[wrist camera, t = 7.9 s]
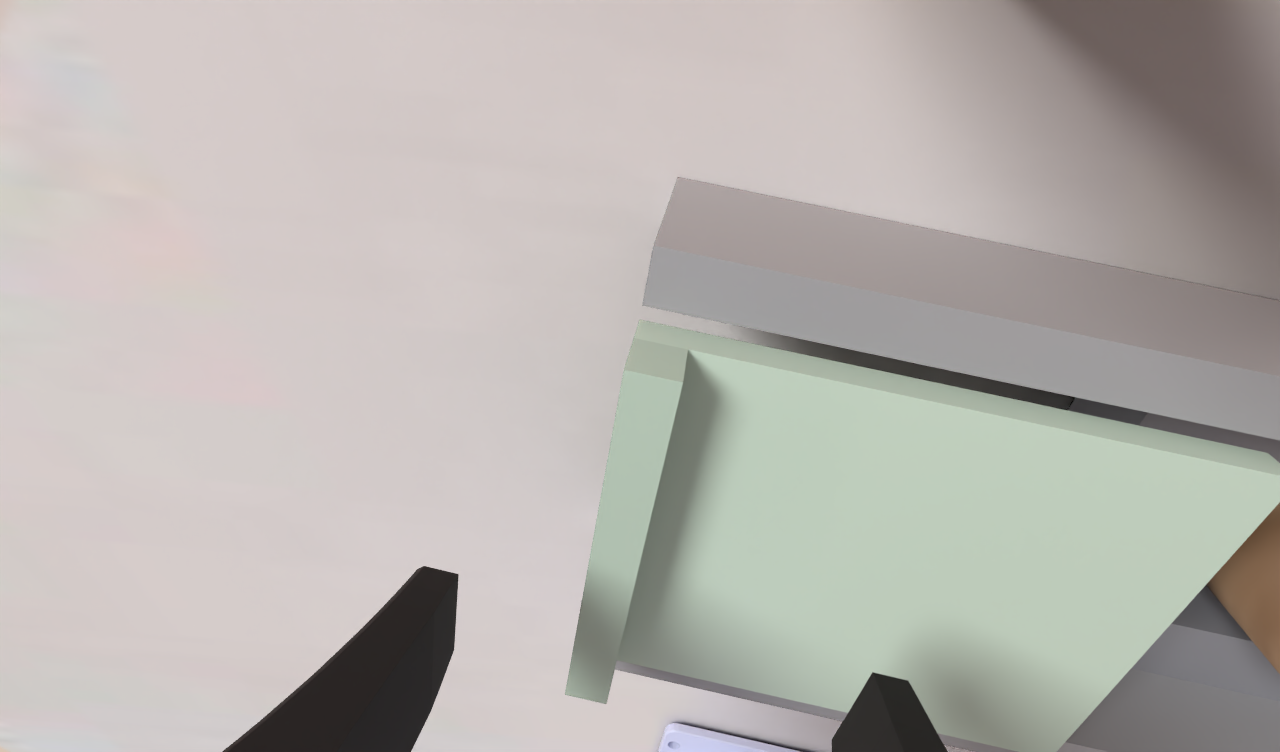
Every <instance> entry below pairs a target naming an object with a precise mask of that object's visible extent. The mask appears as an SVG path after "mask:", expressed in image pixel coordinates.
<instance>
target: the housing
mask: <svg viewBox="0 0 1280 752" xmlns="http://www.w3.org/2000/svg"><path fill="white" fill-rule="evenodd" d="M642 306H647V307H652V308H656V309H661V310H666V311H671V312H675V313H680V314H685V315H689V316H694V317H699V318H704V319H708V320H713V321H718V322H722V323H727V324H732V325H737V326H741V327H746V328H751V329H756V330H760V331H765V332H770V333H774V334H779V335H784V336H789V337H793V338H798V339H803V340H808V341H812V342H817V343H822V344H826V345H831V346H836V347H841V348H845V349H850V350H855V351H859V352H864V353H869V354H874V355H878V356H883V357H888V358H893V359H897V360H902V361H907V362H911V363H916V364H921V365H926V366H930V367H935V368H940V369H945V370H949V371H954V372H959V373H963V374H968V375H973V376H978V377H982V378H987V379H992V380H996V381H1001V382H1006V383H1011V384H1015V385H1020V386H1025V387H1030V388H1034V389H1039V390H1044V391H1048V392H1053V393H1058V394H1063V395H1067V396H1072V397H1075V399H1074V400H1073V402H1072V404H1071V405H1070V407H1069V409H1068V411H1072V412H1077V413H1082V414H1087V415H1091V416H1096V417H1101V418H1105V419H1110V420H1115V421H1120V422H1124V423H1129V424H1134V425H1138V426H1143V427H1148V428H1153V429H1157V430H1162V431H1167V432H1171V433H1176V434H1181V435H1185V436H1190V437H1195V438H1200V439H1204V440H1209V441H1214V442H1218V443H1223V444H1228V445H1233V446H1237V447H1242V448H1247V449H1251V450H1256V451H1261V452H1266V453H1268V454H1270V455H1271V456H1272V457H1273V458H1274V459H1276V460H1277V461H1278V462H1279V463H1280V301H1278V300H1274V299H1269V298H1264V297H1259V296H1254V295H1249V294H1244V293H1239V292H1235V291H1230V290H1225V289H1220V288H1215V287H1210V286H1205V285H1201V284H1196V283H1191V282H1186V281H1181V280H1176V279H1171V278H1167V277H1162V276H1157V275H1152V274H1147V273H1142V272H1137V271H1132V270H1128V269H1123V268H1118V267H1113V266H1108V265H1103V264H1098V263H1094V262H1089V261H1084V260H1079V259H1074V258H1069V257H1064V256H1060V255H1055V254H1050V253H1045V252H1040V251H1035V250H1030V249H1025V248H1021V247H1016V246H1011V245H1006V244H1001V243H996V242H991V241H987V240H982V239H977V238H972V237H967V236H962V235H957V234H953V233H948V232H943V231H938V230H933V229H928V228H923V227H918V226H914V225H909V224H904V223H899V222H894V221H889V220H884V219H880V218H875V217H870V216H865V215H860V214H855V213H850V212H846V211H841V210H836V209H831V208H826V207H821V206H816V205H811V204H807V203H802V202H797V201H792V200H787V199H782V198H777V197H773V196H768V195H763V194H758V193H753V192H748V191H743V190H739V189H734V188H729V187H724V186H719V185H714V184H709V183H704V182H700V181H695V180H690V179H685V178H680V177H678V178H677V181H676V184H675V187H674V189H673V192H672V195H671V198H670V201H669V203H668V206H667V209H666V212H665V215H664V218H663V220H662V223H661V226H660V229H659V232H658V234H657V237H656V240H655V243H654V246H653V251H652V257H651V262H650V267H649V273H648V278H647V283H646V289H645V294H644V299H643V305H642ZM615 670H620V671H624V672H628V673H633V674H637V675H642V676H646V677H650V678H655V679H659V680H664V681H668V682H672V683H677V684H681V685H685V686H690V687H694V688H699V689H703V690H707V691H712V692H716V693H721V694H725V695H729V696H734V697H738V698H742V699H747V700H751V701H756V702H760V703H764V704H769V705H773V706H777V707H782V708H786V709H791V710H795V711H799V712H804V713H808V714H813V715H817V716H821V717H826V718H830V719H834V720H839V721H844V719H845V717H846V716H847V714H848V713H846V712H842V711H837V710H833V709H828V708H824V707H820V706H815V705H811V704H806V703H802V702H798V701H793V700H789V699H785V698H780V697H776V696H771V695H767V694H763V693H758V692H754V691H749V690H745V689H741V688H736V687H732V686H727V685H723V684H719V683H714V682H710V681H705V680H701V679H697V678H692V677H688V676H684V675H679V674H675V673H670V672H666V671H662V670H657V669H653V668H648V667H644V666H640V665H635V664H631V663H626V662H622V661H618V660H617V661H616V666H615ZM938 735H939V737H940V739H941V741H942V743H943V744H944V745H948V746H953V747H957V748H962V749H966V750H970V751H975V752H1017V751H1013V750H1008V749H1004V748H1000V747H995V746H991V745H987V744H982V743H978V742H973V741H969V740H965V739H960V738H956V737H951V736H947V735H943V734H938ZM1057 752H1280V674H1279V673H1278V672H1277V671H1276V669H1275V668H1274V667H1273V666H1272V664H1271V663H1270V662H1269V661H1268V660H1267V658H1266V657H1265V656H1264V655H1263V653H1262V652H1261V651H1260V650H1259V649H1258V647H1257V646H1256V645H1255V644H1254V643H1253V641H1252V640H1251V639H1250V638H1249V636H1248V635H1247V634H1246V633H1245V632H1244V630H1243V629H1242V628H1241V627H1240V626H1239V624H1238V623H1237V622H1236V621H1235V619H1234V618H1233V617H1232V616H1231V615H1230V613H1229V612H1228V611H1227V610H1226V609H1225V607H1224V606H1223V605H1222V604H1221V602H1220V601H1219V600H1218V599H1217V598H1216V596H1215V595H1214V594H1213V593H1212V592H1211V590H1210V589H1209V588H1208V587H1207V585H1205V586H1204V588H1203V589H1202V590H1201V591H1200V592H1199V593H1198V594H1197V595H1196V597H1195V598H1194V599H1193V600H1192V601H1191V602H1190V603H1189V604H1188V605H1187V607H1186V608H1185V609H1184V610H1183V611H1182V612H1181V613H1180V614H1179V616H1178V617H1177V618H1176V619H1175V620H1174V621H1173V622H1172V623H1171V624H1170V626H1169V627H1168V628H1167V629H1166V630H1165V631H1164V632H1163V633H1162V635H1161V636H1160V637H1159V638H1158V639H1157V640H1156V641H1155V642H1154V643H1153V645H1152V646H1151V647H1150V648H1149V649H1148V650H1147V651H1146V652H1145V654H1144V655H1143V656H1142V657H1141V658H1140V659H1139V660H1138V661H1137V662H1136V664H1135V665H1134V666H1133V667H1132V668H1131V669H1130V670H1129V671H1128V672H1127V674H1126V675H1125V676H1124V677H1123V678H1122V679H1121V680H1120V681H1119V683H1118V684H1117V685H1116V686H1115V687H1114V688H1113V689H1112V690H1111V691H1110V693H1109V694H1108V695H1107V696H1106V697H1105V698H1104V699H1103V700H1102V702H1101V703H1100V704H1099V705H1098V706H1097V707H1096V708H1095V709H1094V710H1093V712H1092V713H1091V714H1090V715H1089V716H1088V717H1087V718H1086V719H1085V721H1084V722H1083V723H1082V724H1081V725H1080V726H1079V727H1078V728H1077V729H1076V731H1075V732H1074V733H1073V734H1072V735H1071V736H1070V737H1069V738H1068V740H1067V741H1066V742H1065V743H1064V744H1063V745H1062V746H1061V747H1060V748H1059V750H1058V751H1057Z"/></svg>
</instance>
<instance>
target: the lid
mask: <svg viewBox="0 0 1280 752" xmlns="http://www.w3.org/2000/svg"><path fill="white" fill-rule="evenodd" d="M1279 503H1280V463H1279V462H1278V461H1277V460H1276V459H1274V458H1273V457H1272V456H1271V455H1270V454H1268V453H1266V452H1261V451H1256V450H1251V449H1247V448H1242V447H1237V446H1233V445H1228V444H1223V443H1218V442H1214V441H1209V440H1204V439H1200V438H1195V437H1190V436H1185V435H1181V434H1176V433H1171V432H1167V431H1162V430H1157V429H1153V428H1148V427H1143V426H1138V425H1134V424H1129V423H1124V422H1120V421H1115V420H1110V419H1105V418H1101V417H1096V416H1091V415H1087V414H1082V413H1077V412H1072V411H1068V410H1063V409H1058V408H1054V407H1049V406H1044V405H1039V404H1035V403H1030V402H1025V401H1021V400H1016V399H1011V398H1006V397H1002V396H997V395H992V394H988V393H983V392H978V391H974V390H969V389H964V388H959V387H955V386H950V385H945V384H941V383H936V382H931V381H926V380H922V379H917V378H912V377H908V376H903V375H898V374H893V373H889V372H884V371H879V370H875V369H870V368H865V367H860V366H856V365H851V364H846V363H842V362H837V361H832V360H828V359H823V358H818V357H813V356H809V355H804V354H799V353H795V352H790V351H785V350H780V349H776V348H771V347H766V346H762V345H757V344H752V343H747V342H743V341H738V340H733V339H729V338H724V337H719V336H714V335H710V334H705V333H700V332H696V331H691V330H686V329H682V328H677V327H672V326H667V325H663V324H658V323H653V322H649V321H644V320H639V323H638V327H637V330H636V333H635V336H634V339H633V342H632V346H631V349H630V352H629V355H628V358H627V362H626V365H625V368H624V372H623V378H622V383H621V389H620V394H619V400H618V405H617V411H616V416H615V422H614V427H613V433H612V438H611V444H610V449H609V455H608V460H607V466H606V471H605V477H604V482H603V488H602V493H601V499H600V504H599V510H598V515H597V521H596V526H595V532H594V537H593V543H592V548H591V554H590V559H589V565H588V570H587V576H586V581H585V587H584V592H583V598H582V603H581V609H580V614H579V620H578V625H577V631H576V636H575V642H574V647H573V653H572V658H571V664H570V669H569V675H568V680H567V686H566V691H565V695H569V696H573V697H578V698H582V699H586V700H591V701H595V702H599V703H604V704H606V703H607V699H608V695H609V691H610V686H611V682H612V678H613V674H614V670H615V666H616V661H617V660H618V661H622V662H626V663H631V664H635V665H640V666H644V667H648V668H653V669H657V670H662V671H666V672H670V673H675V674H679V675H684V676H688V677H692V678H697V679H701V680H705V681H710V682H714V683H719V684H723V685H727V686H732V687H736V688H741V689H745V690H749V691H754V692H758V693H763V694H767V695H771V696H776V697H780V698H785V699H789V700H793V701H798V702H802V703H806V704H811V705H815V706H820V707H824V708H828V709H833V710H837V711H842V712H846V713H848V712H849V711H850V709H851V707H852V706H853V704H854V702H855V701H856V699H857V697H858V696H859V694H860V692H861V691H862V689H863V687H864V686H865V684H866V682H867V681H868V679H869V677H870V676H871V674H872V672H874V673H878V674H882V675H886V676H891V677H895V678H899V679H903V680H908V681H909V683H910V684H911V686H912V688H913V690H914V692H915V693H916V695H917V697H918V699H919V701H920V702H921V704H922V706H923V708H924V710H925V712H926V713H927V715H928V717H929V719H930V721H931V723H932V724H933V726H934V728H935V730H936V732H937V733H938V734H943V735H947V736H951V737H956V738H960V739H965V740H969V741H973V742H978V743H982V744H987V745H991V746H995V747H1000V748H1004V749H1008V750H1013V751H1017V752H1057V751H1058V750H1059V748H1060V747H1061V746H1062V745H1063V744H1064V743H1065V742H1066V741H1067V740H1068V738H1069V737H1070V736H1071V735H1072V734H1073V733H1074V732H1075V731H1076V729H1077V728H1078V727H1079V726H1080V725H1081V724H1082V723H1083V722H1084V721H1085V719H1086V718H1087V717H1088V716H1089V715H1090V714H1091V713H1092V712H1093V710H1094V709H1095V708H1096V707H1097V706H1098V705H1099V704H1100V703H1101V702H1102V700H1103V699H1104V698H1105V697H1106V696H1107V695H1108V694H1109V693H1110V691H1111V690H1112V689H1113V688H1114V687H1115V686H1116V685H1117V684H1118V683H1119V681H1120V680H1121V679H1122V678H1123V677H1124V676H1125V675H1126V674H1127V672H1128V671H1129V670H1130V669H1131V668H1132V667H1133V666H1134V665H1135V664H1136V662H1137V661H1138V660H1139V659H1140V658H1141V657H1142V656H1143V655H1144V654H1145V652H1146V651H1147V650H1148V649H1149V648H1150V647H1151V646H1152V645H1153V643H1154V642H1155V641H1156V640H1157V639H1158V638H1159V637H1160V636H1161V635H1162V633H1163V632H1164V631H1165V630H1166V629H1167V628H1168V627H1169V626H1170V624H1171V623H1172V622H1173V621H1174V620H1175V619H1176V618H1177V617H1178V616H1179V614H1180V613H1181V612H1182V611H1183V610H1184V609H1185V608H1186V607H1187V605H1188V604H1189V603H1190V602H1191V601H1192V600H1193V599H1194V598H1195V597H1196V595H1197V594H1198V593H1199V592H1200V591H1201V590H1202V589H1203V588H1204V586H1205V585H1206V584H1207V583H1208V582H1209V581H1210V580H1211V579H1212V578H1213V576H1214V575H1215V574H1216V573H1217V572H1218V571H1219V570H1220V569H1221V567H1222V566H1223V565H1224V564H1225V563H1226V562H1227V561H1228V560H1229V559H1230V557H1231V556H1232V555H1233V554H1234V553H1235V552H1236V551H1237V550H1238V548H1239V547H1240V546H1241V545H1242V544H1243V543H1244V542H1245V541H1246V540H1247V538H1248V537H1249V536H1250V535H1251V534H1252V533H1253V532H1254V531H1255V529H1256V528H1257V527H1258V526H1259V525H1260V524H1261V523H1262V522H1263V521H1264V519H1265V518H1266V517H1267V516H1268V515H1269V514H1270V513H1271V512H1272V510H1273V509H1274V508H1275V507H1276V506H1277V505H1278V504H1279Z"/></svg>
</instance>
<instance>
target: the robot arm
mask: <svg viewBox="0 0 1280 752" xmlns="http://www.w3.org/2000/svg"><path fill="white" fill-rule="evenodd" d="M457 589H458V574H455V573H451V572H447V571H442V570H438V569H434V568H430V567H426V566H423V567H421V568H419V569H417V570H416V572H415V573H414V574H413V575H412V576H411V577H410V578H409V579H408V581H407V582H406V583H405V584H404V585H403V586H402V587H401V588H400V589H399V590H398V591H397V593H396V594H395V595H394V596H393V597H392V598H391V599H390V600H389V601H388V602H387V603H386V604H385V605H384V606H383V607H382V608H381V609H380V611H379V612H378V613H377V614H376V615H375V616H374V617H373V618H372V619H371V620H370V621H369V622H368V623H367V624H366V625H365V626H364V627H363V628H362V629H361V630H360V631H359V632H358V633H357V634H356V635H355V636H354V637H353V638H351V639H350V640H349V641H348V642H347V643H346V644H345V645H344V646H343V647H342V648H341V649H340V650H339V651H338V652H337V653H336V654H335V655H334V656H333V657H331V658H330V659H329V660H328V661H327V662H326V663H325V664H324V665H323V666H322V667H321V668H320V669H319V670H318V671H317V672H316V673H314V674H313V675H312V676H311V677H310V678H309V679H308V680H307V681H306V682H304V683H303V684H302V685H301V686H300V687H299V688H298V689H296V690H295V691H294V692H293V693H292V694H291V695H289V696H288V697H287V698H286V699H285V700H284V701H283V702H281V703H280V704H279V705H278V706H277V707H276V708H275V709H273V710H272V711H271V712H270V713H269V714H268V715H267V716H265V717H264V718H263V719H262V720H261V721H259V722H258V723H257V724H256V725H255V726H253V727H252V728H251V729H250V730H249V731H247V732H246V733H245V734H244V735H242V736H241V737H240V738H239V739H238V740H236V741H235V742H234V743H233V744H231V745H230V746H229V747H228V748H226V749H225V750H224V751H223V752H411V750H412V748H413V746H414V744H415V742H416V740H417V738H418V736H419V734H420V732H421V730H422V728H423V726H424V724H425V722H426V720H427V718H428V716H429V714H430V712H431V709H432V707H433V704H434V702H435V699H436V696H437V694H438V691H439V689H440V686H441V683H442V681H443V678H444V675H445V673H446V670H447V667H448V664H449V662H450V659H451V656H452V654H453V651H454V641H455V624H456V607H457ZM658 752H801V751H797V750H792V749H788V748H784V747H779V746H775V745H771V744H766V743H762V742H758V741H753V740H749V739H745V738H740V737H736V736H732V735H727V734H723V733H719V732H714V731H710V730H705V729H701V728H697V727H692V726H688V725H684V724H679V723H671V724H669V725H667V726H666V728H665V730H664V733H663V737H662V740H661V743H660V746H659V749H658ZM832 752H947V750H946V748H945V746H944V744H943V743H942V741H941V739H940V737H939V735H938V733H937V732H936V730H935V728H934V726H933V724H932V723H931V721H930V719H929V717H928V715H927V713H926V712H925V710H924V708H923V706H922V704H921V702H920V701H919V699H918V697H917V695H916V693H915V692H914V690H913V688H912V686H911V684H910V683H909V681H908V680H903V679H899V678H895V677H891V676H886V675H882V674H878V673H874V672H872V674H871V676H870V677H869V679H868V681H867V682H866V684H865V686H864V687H863V689H862V691H861V692H860V694H859V696H858V697H857V699H856V701H855V702H854V704H853V706H852V707H851V709H850V711H849V712H848V714H847V716H846V717H845V719H844V721H843V722H842V724H841V725H840V727H839V729H838V730H837V732H836V734H835V735H834V737H833V739H832Z"/></svg>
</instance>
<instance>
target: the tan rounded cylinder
mask: <svg viewBox="0 0 1280 752" xmlns="http://www.w3.org/2000/svg"><path fill="white" fill-rule="evenodd" d="M1206 585H1207V587H1208V588H1209V589H1210V590H1211V592H1212V593H1213V594H1214V595H1215V596H1216V598H1217V599H1218V600H1219V601H1220V602H1221V604H1222V605H1223V606H1224V607H1225V609H1226V610H1227V611H1228V612H1229V613H1230V615H1231V616H1232V617H1233V618H1234V619H1235V621H1236V622H1237V623H1238V624H1239V626H1240V627H1241V628H1242V629H1243V630H1244V632H1245V633H1246V634H1247V635H1248V636H1249V638H1250V639H1251V640H1252V641H1253V643H1254V644H1255V645H1256V646H1257V647H1258V649H1259V650H1260V651H1261V652H1262V653H1263V655H1264V656H1265V657H1266V658H1267V660H1268V661H1269V662H1270V663H1271V664H1272V666H1273V667H1274V668H1275V669H1276V671H1277V672H1278V673H1279V674H1280V503H1279V504H1278V505H1277V506H1276V507H1275V508H1274V509H1273V510H1272V512H1271V513H1270V514H1269V515H1268V516H1267V517H1266V518H1265V519H1264V521H1263V522H1262V523H1261V524H1260V525H1259V526H1258V527H1257V528H1256V529H1255V531H1254V532H1253V533H1252V534H1251V535H1250V536H1249V537H1248V538H1247V540H1246V541H1245V542H1244V543H1243V544H1242V545H1241V546H1240V547H1239V548H1238V550H1237V551H1236V552H1235V553H1234V554H1233V555H1232V556H1231V557H1230V559H1229V560H1228V561H1227V562H1226V563H1225V564H1224V565H1223V566H1222V567H1221V569H1220V570H1219V571H1218V572H1217V573H1216V574H1215V575H1214V576H1213V578H1212V579H1211V580H1210V581H1209V582H1208V583H1207V584H1206Z"/></svg>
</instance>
